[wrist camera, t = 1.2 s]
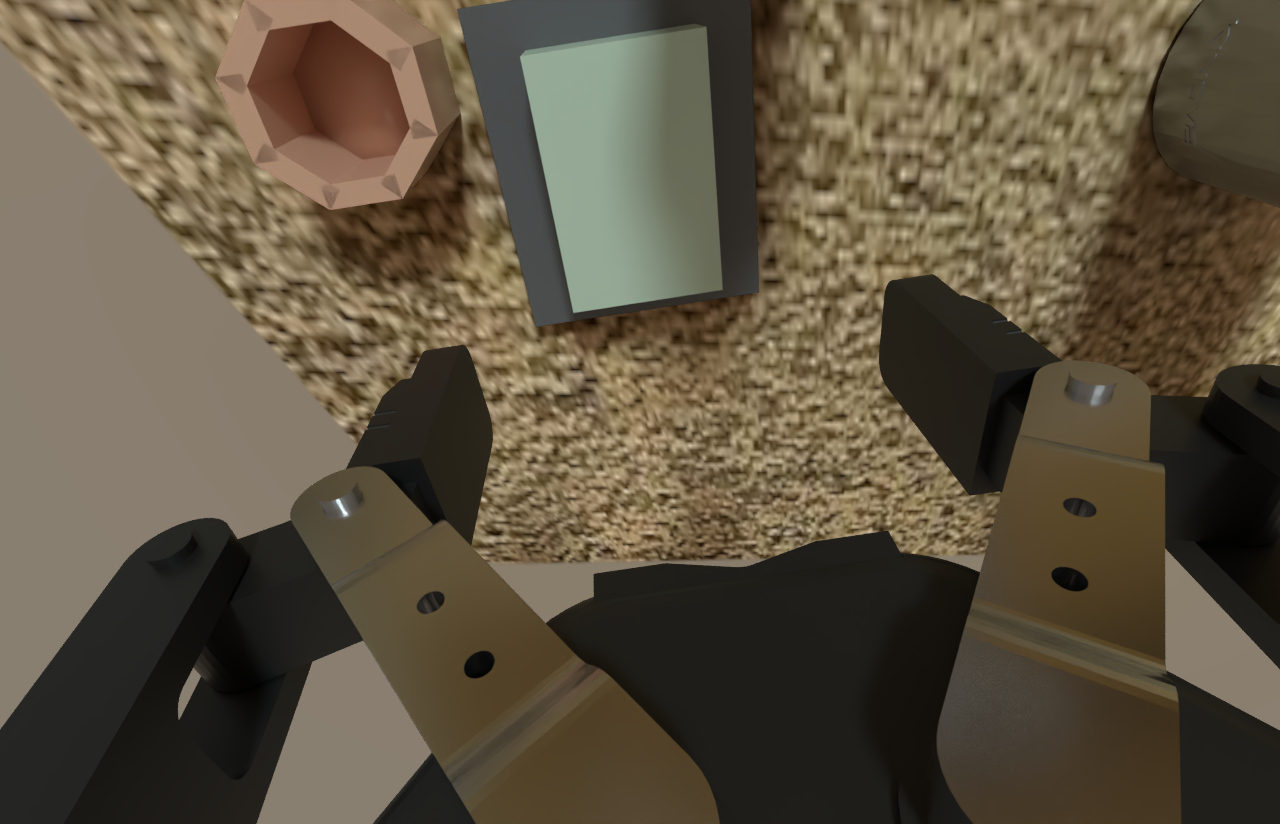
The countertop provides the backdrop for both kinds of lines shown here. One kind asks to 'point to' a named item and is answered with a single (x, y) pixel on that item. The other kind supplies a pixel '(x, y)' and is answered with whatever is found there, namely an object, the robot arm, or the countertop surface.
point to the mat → (495, 39)
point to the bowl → (338, 96)
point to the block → (629, 164)
